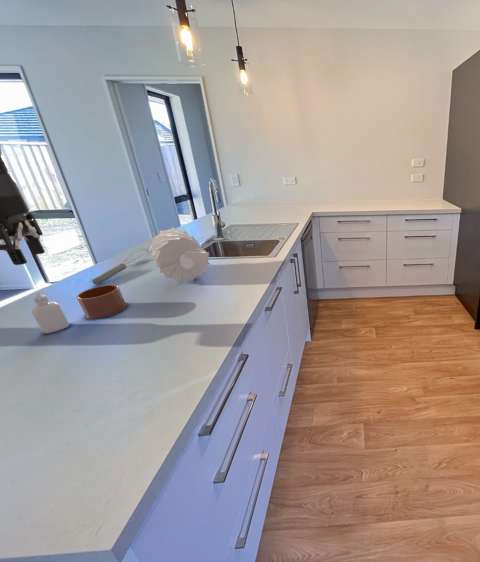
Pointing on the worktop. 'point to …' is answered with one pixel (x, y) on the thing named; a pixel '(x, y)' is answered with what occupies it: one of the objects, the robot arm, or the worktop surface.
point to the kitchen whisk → (115, 270)
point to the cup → (101, 301)
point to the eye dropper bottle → (49, 314)
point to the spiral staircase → (179, 255)
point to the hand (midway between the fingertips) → (30, 258)
